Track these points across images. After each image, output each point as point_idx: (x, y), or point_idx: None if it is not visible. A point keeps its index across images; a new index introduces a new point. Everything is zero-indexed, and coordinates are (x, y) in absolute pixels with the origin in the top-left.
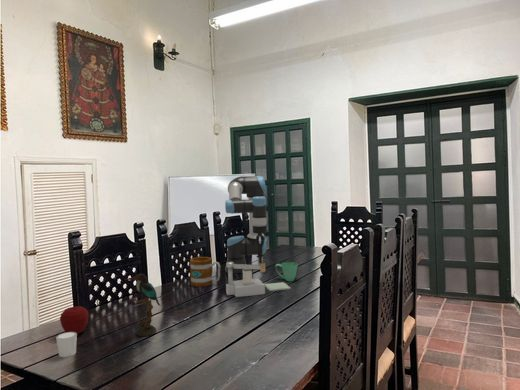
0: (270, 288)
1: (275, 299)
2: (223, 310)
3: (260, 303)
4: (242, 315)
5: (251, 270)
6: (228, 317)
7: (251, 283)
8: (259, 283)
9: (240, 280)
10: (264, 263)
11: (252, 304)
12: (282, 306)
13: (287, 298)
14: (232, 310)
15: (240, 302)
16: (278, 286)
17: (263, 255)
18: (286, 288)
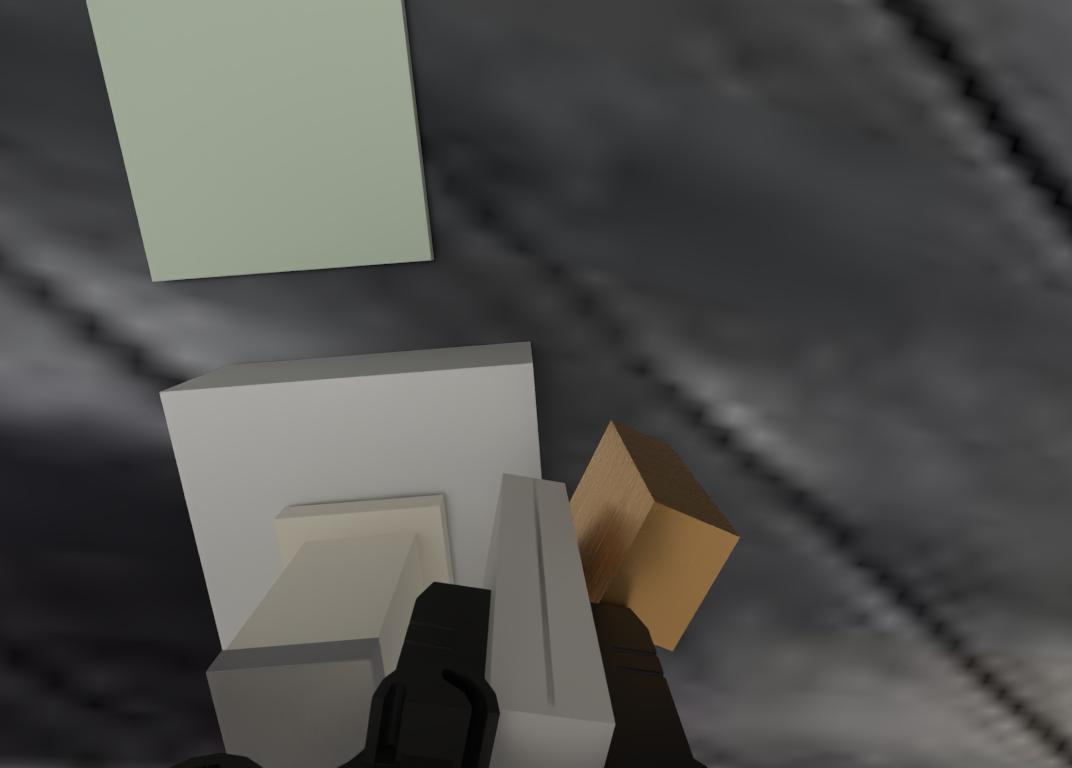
0: (375, 241)
1: (761, 268)
2: (880, 758)
3: (828, 448)
4: (1062, 638)
5: (378, 647)
6: (1052, 736)
7: (447, 532)
8: (440, 422)
9: (231, 634)
10: (678, 531)
11: (827, 524)
12: (1011, 249)
13: (777, 115)
14: (910, 697)
15: (728, 617)
16: (299, 106)
17: (490, 714)
18: (402, 10)
